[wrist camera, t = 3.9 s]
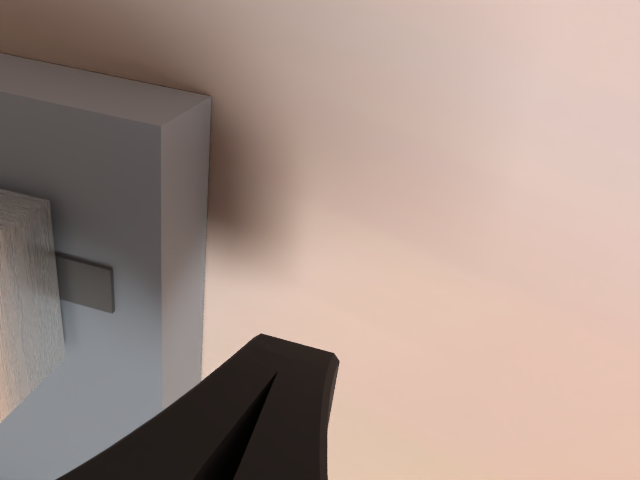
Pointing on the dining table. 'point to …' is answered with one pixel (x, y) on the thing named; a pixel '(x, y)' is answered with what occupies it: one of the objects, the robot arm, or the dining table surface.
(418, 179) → the dining table surface
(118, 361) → the control panel
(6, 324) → the slider knob
